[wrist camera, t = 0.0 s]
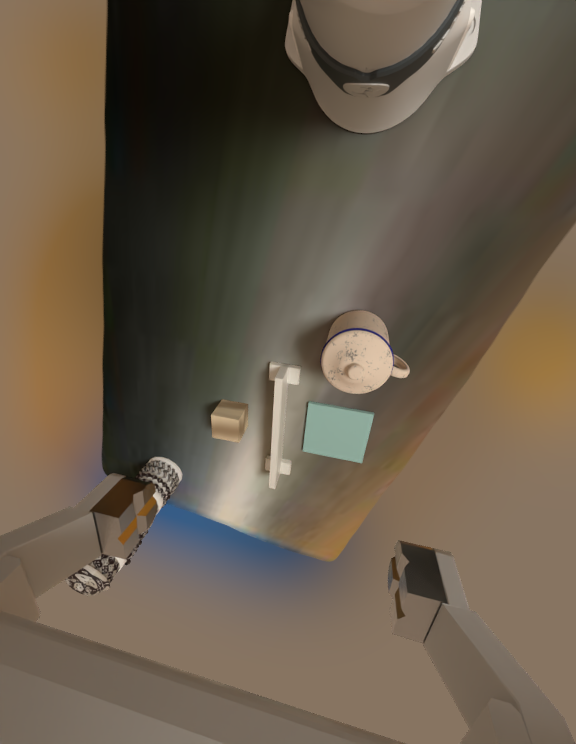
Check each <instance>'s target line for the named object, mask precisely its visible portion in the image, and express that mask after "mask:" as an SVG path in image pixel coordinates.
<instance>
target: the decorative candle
mask: <svg viewBox="0 0 576 744" xmlns="http://www.w3.org/2000/svg"><path fill="white" fill-rule="evenodd" d="M146 465H147V466H144V468H142V471H140V472H139V473H140V474H138V475H137V476H136V477H135V479H139V480H143V481H147V482H150V483H153V484H155V489H156V492H155V493H154V495H153V497H154V498H155V499H156V501H157V513H158V512H159V511H160V509H161V508H162V507H163V506H164V505H165V504H166V501H167V499H169V498H170V495H171V494H172V493H173V492H174V491H175V488H176V487H177V486H178V485H179V482H180V481H181V480H182V472H181V470H180V468H179V467H178V466H177V465H176V464H175V463H174V462H173V461H171V460H169V459H167V458H164V457H154V458H151V459H150V460H149V462H148V463H146ZM157 513H156V514H157ZM151 525H152V524H151ZM149 528H150V527H149ZM149 528H148V529H149ZM147 533H148V530H146V531H145V532H144V533H141V534H139V542H138V544H137V545H136V546H135V548H134V549H133V550H132V552H131V553H130V554H129V556H128V557H127V559H121V558H117V557H113V556H109V555H105V554H101V556H100V557H98V558H97V559H95V560H94V561H92V562H91V563H89V564H87V565H86V566H84V567H83V568H81V569H80V570H78V571H77V572H75V573H74V574H72V575H71V576H69V577H68V578H66V579H65V580H66V583H67V584H68V585H69V586H70V587H71V588H72V589H74V590H75V591H77V592H79V593H81V594H84V595H89V596H92V595H96V594H98V593H100V592H102V591H107V590H108V589H109V588H110V582H111V581H112V579H113V578H114V576H115V575H116V573H117V572H118V571H119V570H120V569H121V568H122V566H123V565H124V563H125V562H126V563H125V565H128V564H130V562H131V561H130V558H131V557H132V556H133V555H134V553H135V552H136V551H137V548H138V547H139V545H141V543H142V541H141V540H142V539H143V538H144V537H145V535H146V534H147ZM126 560H127V561H126Z"/></svg>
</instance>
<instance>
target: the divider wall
mask: <svg viewBox="0 0 576 744" xmlns="http://www.w3.org/2000/svg"><path fill="white" fill-rule="evenodd" d="M300 371H301V366H296V365H290V364H284V363H278V362H272V361H271V363H270V370H269V380H272V381H275V387H274V406H273V424H272V442H271V456H268V455H267V457H266V461H265V470H268V471H270V479H269V488H273V489H275V488H276V485H277V482H278V478H279V475H280V473H282V474H286V475H290V472H291V461H292V460H287V459H282V454H283V441H284V429H285V416H286V403H287V391H288V383H290V384H296V385H298V384H299V381H300Z"/></svg>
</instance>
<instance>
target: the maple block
mask: <svg viewBox="0 0 576 744" xmlns="http://www.w3.org/2000/svg"><path fill="white" fill-rule="evenodd" d="M211 422H212V437H214V438H218V439H223V440H228V441H233V442H238V443H239V442H240V440H241V438H242V436H243V434H244V432H245V430H246V428H247V426H248V404H245V403H239V402H234V401H229V400H223V399H222V400H221V402H220V403H219V404H218V406H217V407H216V409H215V410H214V411H213V413H212V414H211Z"/></svg>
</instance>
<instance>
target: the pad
mask: <svg viewBox="0 0 576 744" xmlns="http://www.w3.org/2000/svg"><path fill="white" fill-rule="evenodd" d="M373 417H374V413H373V412H367V411H362V410H356V409H350V408H345V407H339V406H333V405H328V404H322V403H317V402H311V401H309V403H308V411H307V420H306V428H305V436H304V445H303V451H304V452H309V453H314V454H319V455H324V456H329V457H334V458H339V459H344V460H349V461H354V462H359V463H362V461H363V457H364V453H365V449H366V445H367V441H368V437H369V433H370V429H371V425H372V421H373Z"/></svg>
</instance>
